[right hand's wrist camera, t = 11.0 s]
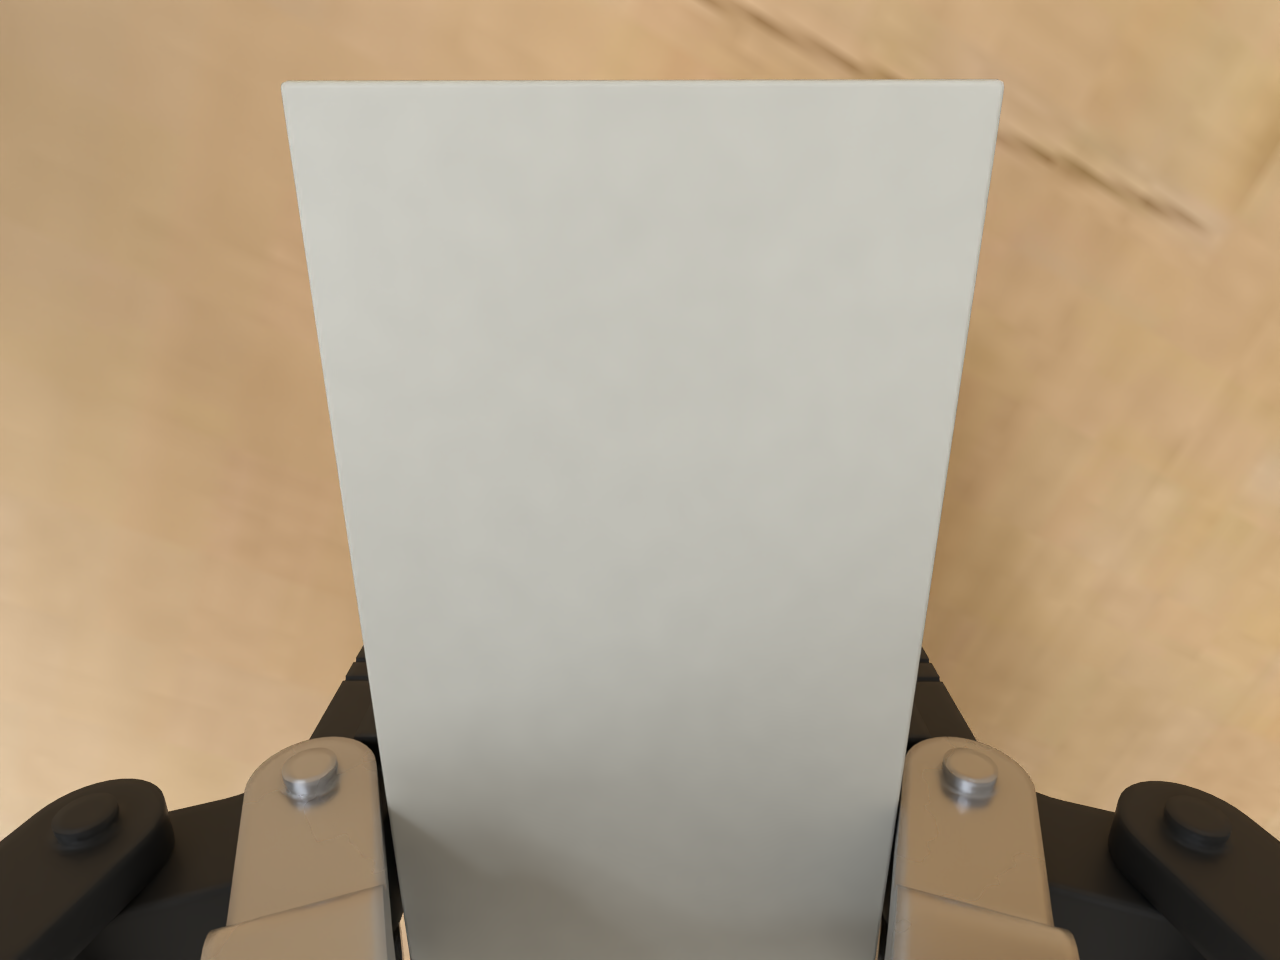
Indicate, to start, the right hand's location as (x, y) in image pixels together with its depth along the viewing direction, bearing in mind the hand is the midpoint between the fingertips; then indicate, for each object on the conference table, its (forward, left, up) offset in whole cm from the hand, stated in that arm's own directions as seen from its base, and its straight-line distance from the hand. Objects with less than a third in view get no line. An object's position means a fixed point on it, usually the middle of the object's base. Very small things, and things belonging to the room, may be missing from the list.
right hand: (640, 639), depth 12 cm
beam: (+25, 0, -2) cm, 26 cm away
